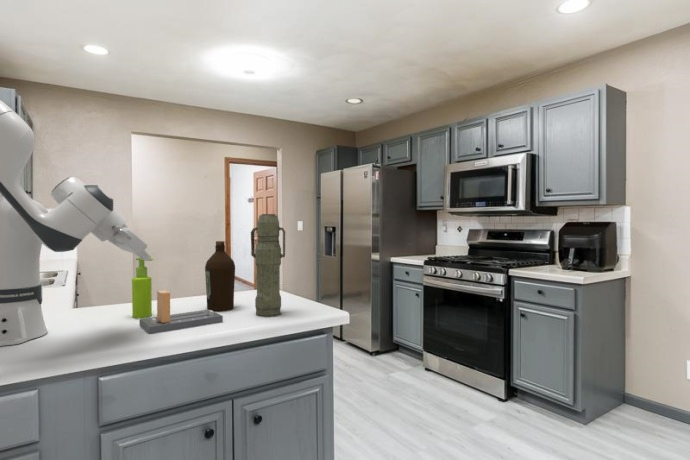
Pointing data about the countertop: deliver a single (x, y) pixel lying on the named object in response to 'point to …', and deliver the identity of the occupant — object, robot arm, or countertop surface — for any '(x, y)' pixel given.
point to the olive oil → (220, 280)
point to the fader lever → (163, 306)
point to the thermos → (268, 265)
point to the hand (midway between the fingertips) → (147, 259)
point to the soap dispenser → (141, 292)
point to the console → (181, 321)
